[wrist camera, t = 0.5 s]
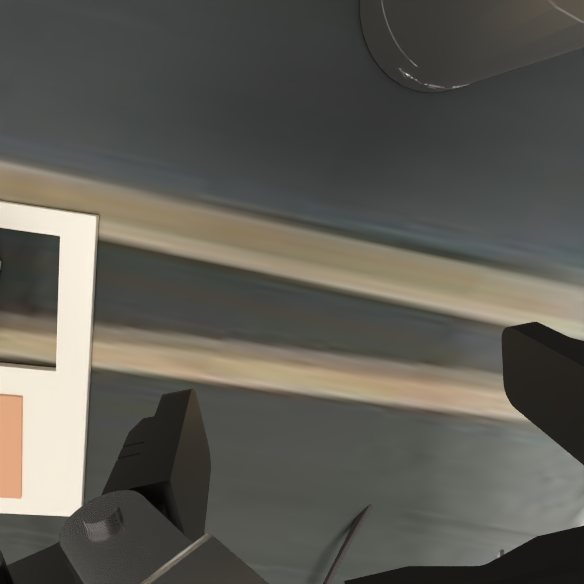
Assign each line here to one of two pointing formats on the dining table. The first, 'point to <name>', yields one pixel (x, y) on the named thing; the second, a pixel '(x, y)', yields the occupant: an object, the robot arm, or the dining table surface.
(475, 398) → the dining table surface
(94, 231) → the window card
